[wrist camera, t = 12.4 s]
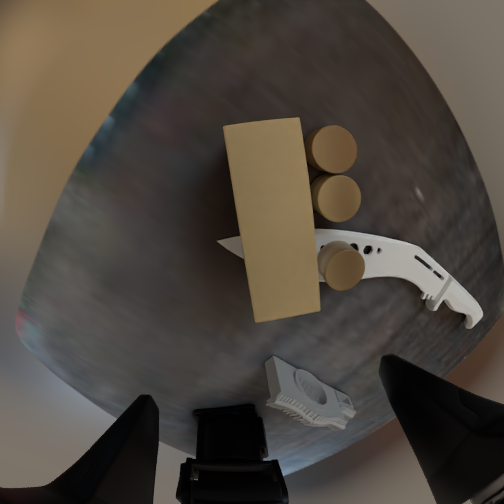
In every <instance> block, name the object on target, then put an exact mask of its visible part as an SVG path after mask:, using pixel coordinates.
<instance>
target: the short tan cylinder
mask: <svg viewBox="0 0 504 504" xmlns="http://www.w3.org/2000/svg"><path fill="white" fill-rule="evenodd" d="M310 192H311V200H312V207H313V208H314V210H315V211H316V212H318V213H319V214H321V215H322V216H324V217H325V218H327V219H328V220H330V221H333V222H344V221H347V220H349V219H350V218H352V217H353V216H354V215H355V214H356V212H357V211H358V209H359V206H360V202H361V194H360V190H359V188H358V186H357V184H356V183H355V182H354V181H353V180H352V179H351V178H349V177H347V176H343V175H339V174H334V173H325V174H322V175H320V176H318V177H317V178H316V179H315V180H314V181H313V183H312V184H311V187H310Z"/></svg>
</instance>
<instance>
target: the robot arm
mask: <svg viewBox="0 0 504 504" xmlns="http://www.w3.org/2000/svg"><path fill="white" fill-rule="evenodd" d="M379 375H380V378H381V381H382V383H383V386H384V388H385V391H386V394H387V396H388V399H389V402H390V404H391V406H392V409H393V411H394V413H395V414H396V416H397V418H398V420H399V422H400V424H401V426H402V428H403V430H404V432H405V434H406V436H407V439H408V441H409V443H410V445H411V447H412V449H413V451H414V453H415V455H416V457H417V459H418V462H419V464H420V466H421V468H422V470H423V473H424V475H425V477H426V479H427V482H428V484H429V486H430V489H431V491H432V493H433V496H434V498H435V501H436V503H437V504H462V503H464V502H466V501H467V500H469V499H470V501H471V503H472V504H504V404H501V403H498V402H495V401H492V400H489V399H486V398H483V397H481V396H478V395H475V394H473V393H471V392H469V391H466V390H464V389H462V388H460V387H458V386H456V385H454V384H452V383H450V382H448V381H446V380H444V379H442V378H440V377H438V376H436V375H434V374H432V373H430V372H428V371H426V370H424V369H422V368H420V367H418V366H416V365H414V364H412V363H410V362H408V361H406V360H404V359H402V358H400V357H399V356H397V355H395V354H392V353H390V354H387V355H384V356H382V358H381V363H380V367H379ZM193 415H194V417H195V419H196V421H197V423H198V431H197V448H196V459H192V458H187V459H186V462H185V463H182V464H181V467H180V477H179V482H178V487H177V491H176V499H177V500H178V501H179V502H181V504H288V502H289V501H288V491H287V488H286V484H285V481H284V478H283V475H282V472H281V469H280V466H279V463H278V460H277V459H276V460H271V461H263V458H267V457H268V449H267V442H266V435H265V428H264V424H263V420H262V418H261V417H258V416H257V412H256V408H255V405H252V404H248V405H241V406H232V407H222V408H211V409H196V410H194V411H193ZM158 446H159V409H158V406H157V405H156V403H155V401H154V400H153V398H152V396H151V395H140V396H139V397H138V398H137V399H136V400H135V401H134V402H133V403H132V404H131V405H130V406H129V407H128V408H127V409H126V410H125V412H124V413H123V414H122V415H121V416H120V417H119V418H118V419H117V420H116V421H115V422H114V423H113V424H112V425H111V427H110V428H109V429H108V430H107V431H106V432H105V433H104V434H103V435H102V436H101V437H100V438H99V439H98V440H97V441H96V442H95V443H94V445H93V446H92V447H91V448H90V449H89V450H88V451H87V452H86V453H85V454H84V455H83V456H82V457H81V458H80V459H79V460H78V461H77V462H76V463H74V464H73V465H72V466H71V467H70V468H69V469H67V470H66V471H65V472H64V473H62V474H61V475H60V476H59V477H57V478H56V479H55V480H54V481H52V482H51V483H49V484H47V485H45V486H41V487H30V488H29V487H28V488H1V487H0V504H153V496H154V484H155V473H156V464H157V455H158ZM194 479H198V480H194Z"/></svg>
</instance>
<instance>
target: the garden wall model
mask: <svg viewBox="0 0 504 504" xmlns="http://www.w3.org/2000/svg"><path fill="white" fill-rule="evenodd" d="M265 368H266V374H267V380H268V386H269V391H270V397H271V398H270V399H268V400H267V403H268V404H266V406H268V405H269V406H270V407H272V406H273V408H275V407H276V409H278V408H279V410H282V409H284V410H283V412H286V411H288V412H286V414H289V413H291V414H290V415H289V416H295V417H293V419H296V418H298V419H296V421H298V420H300V423H304V425H307V426H310V427H312V426H313V427H321V426H322V427H323V426H324V427H325V426H327V427H329V429H330V428H331V429H334V431H336V430H339V429H345V428H346V426H345V425H346V424H347V423H348V419H350V418H353V417H354V415H355V414H356V411H355V410H353V405H352V403H351V401H350V399H349V397H348V396H347V395H345V394H343V393H341V392H339V391H337V390H335V389H333V388H331V387H330V386H328V385H326V384H324V383H322V382H320V381H318V380H317V378H315V377H314V376H313V375H312V374H311V373H309V372H308V371H306V370H303V369H296V368H295V367H293V366H291V365H289V364H288V363H286V362H284V361H282V360H281V359H279V358H277V357H275V356H274V355H273V356H272V357H271V358H270V359H268V360H267V361H266V362H265ZM271 404H272V405H271ZM330 426H331V427H330Z"/></svg>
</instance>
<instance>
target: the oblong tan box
mask: <svg viewBox="0 0 504 504" xmlns="http://www.w3.org/2000/svg"><path fill="white" fill-rule="evenodd" d="M223 131H224V138H225V144H226V150H227V157H228V163H229V169H230V175H231V182H232V188H233V194H234V200H235V206H236V213H237V219H238V225H239V231H240V237H241V243H242V249H243V255H244V261H245V267H246V273H247V279H248V285H249V290H250V296H251V302H252V308H253V314H254V319H255V323H259V322H265V321H271V320H277V319H282V318H287V317H293V316H298V315H303V314H308V313H313V312H317V311H320V292H319V276H318V262H317V250H316V238H315V228H314V218H313V209H312V200H311V192H310V184H309V176H308V169H307V162H306V155H305V149H304V142H303V136H302V130H301V124H300V118H285V119H274V120H265V121H256V122H248V123H241V124H234V125H227V126H223Z"/></svg>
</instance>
